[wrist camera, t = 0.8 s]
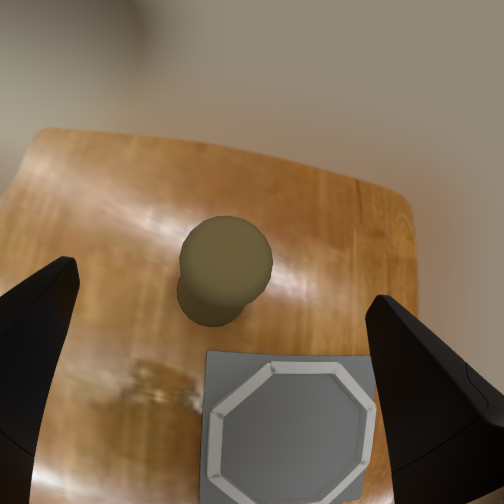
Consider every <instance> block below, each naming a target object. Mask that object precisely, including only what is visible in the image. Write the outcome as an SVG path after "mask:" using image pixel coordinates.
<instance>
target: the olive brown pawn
mask: <svg viewBox="0 0 504 504" xmlns="http://www.w3.org/2000/svg"><path fill="white" fill-rule="evenodd" d="M179 259H180V272H181V276H180V278H179V281H178V285H177V298H178V302H179V304H180V307H181V309H182V311H183V312H184V313H185V314H186V315H187V316H188V317H189V319H191V320H193V321H194V322H196V323H198V324H199V325H204V326H208V327H216V326H223V325H225V324H227V323H229V322H232V321H233V320H234V319H235V318H236V317H237V316H238V315H239V314H240V313H241V311H242V309H243V307H244V306H245V305H246V304H248V303H250V302H252V301H254V300H255V299H256V298H257V297H258V296H259V295H260V294H261V293H262V292H263V291H264V290H265V288H266V286H267V284H268V282H269V280H270V278H271V272H272V266H273V258H272V252H271V248H270V246H269V243H268V241H267V239H266V237H265V236H264V235H263V234H262V233H261V232H260V230H259V229H258V228H257V227H256V226H254V225H253V224H251V223H249V222H247V221H246V220H244V219H241V218H237V217H233V216H217V217H214V218H211V219H208V220H205V221H203V222H202V223H201V224H199V225H198V226H197V227H195V228H194V229H193V230H192V231H191V232H190V234H189V235H188V237H187V238H186V240H185V241H184V243H183V245H182V249H181V253H180V257H179Z"/></svg>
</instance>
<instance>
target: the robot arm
mask: <svg viewBox="0 0 504 504" xmlns="http://www.w3.org/2000/svg"><path fill="white" fill-rule="evenodd" d="M79 286H80V279H79V274H78V269H77V263H76V260H75V259H74V258H73V257H67V256H61V257H59V258H58V259H56V260H55V261H53V262H51V263H50V264H48V265H47V266H45V267H44V268H42V269H40V270H39V271H37V272H36V273H34V274H33V275H31V276H30V277H28V278H27V279H25V280H24V281H22V282H21V283H19V284H18V285H16V286H15V287H13V288H12V289H11V290H9V291H8V292H6V293H5V294H3V295H2V296H1V297H0V504H29V498H30V488H31V480H32V472H33V465H34V459H35V458H34V457H35V452H36V446H37V441H38V436H39V431H40V426H41V422H42V417H43V413H44V409H45V405H46V401H47V397H48V393H49V390H50V386H51V383H52V379H53V376H54V372H55V369H56V366H57V363H58V359H59V356H60V353H61V350H62V347H63V344H64V341H65V338H66V335H67V332H68V328H69V324H70V320H71V316H72V313H73V309H74V305H75V301H76V298H77V294H78V291H79ZM365 321H366V328H367V335H368V342H369V349H370V357H371V363H372V367H373V372H374V377H375V381H376V386H377V391H378V396H379V401H380V406H381V411H382V416H383V422H384V428H385V433H386V440H387V446H388V452H389V459H390V466H391V473H392V474H391V475H392V483H393V492H394V502H395V504H504V395H503V394H502V393H500V392H499V391H498V390H497V389H495V387H493V386H492V385H491V384H490V383H488V382H487V381H486V380H485V379H484V378H483V377H482V376H481V375H479V374H478V373H477V372H476V371H475V370H474V369H473V368H472V367H471V366H469V364H467V363H466V362H464V360H463V359H462V358H461V357H460V356H459V355H457V354H456V353H455V352H454V351H453V350H452V349H451V348H450V347H449V346H448V345H446V344H445V343H444V342H443V341H442V340H441V339H440V338H439V337H438V336H436V335H435V334H434V333H433V332H432V331H431V330H430V329H428V328H427V327H426V326H425V325H424V324H423V323H421V322H420V321H419V320H418V319H417V318H416V317H415V316H413V315H412V314H411V313H410V312H409V311H408V310H406V309H405V308H404V307H403V306H402V305H400V304H399V303H398V302H397V301H396V300H394V299H393V298H392V297H391V296H389V295H377V296H376V297H375V299H374V301H373V302H372V304H371V306H370V307H369V309H368V311H367V313H366V316H365Z"/></svg>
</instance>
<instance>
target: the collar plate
mask: <svg viewBox="0 0 504 504" xmlns="http://www.w3.org/2000/svg"><path fill="white" fill-rule="evenodd" d="M374 394H375V377H374V372H373V367H372V363H371V357H370V355H364V356H289V355H265V354H247V353H233V352H221V351H210V350H207V357H206V371H205V385H204V401H203V418H202V437H201V460H200V489H199V504H339V503H343V502H348V501H352V500H356V499H360V496H361V491H362V486H363V481H364V475H365V469H366V467H367V466H368V463H369V462H370V456H371V449H372V442H373V434H374V426H375V416H376V406H375V405H376V404H375V403H374Z"/></svg>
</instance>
